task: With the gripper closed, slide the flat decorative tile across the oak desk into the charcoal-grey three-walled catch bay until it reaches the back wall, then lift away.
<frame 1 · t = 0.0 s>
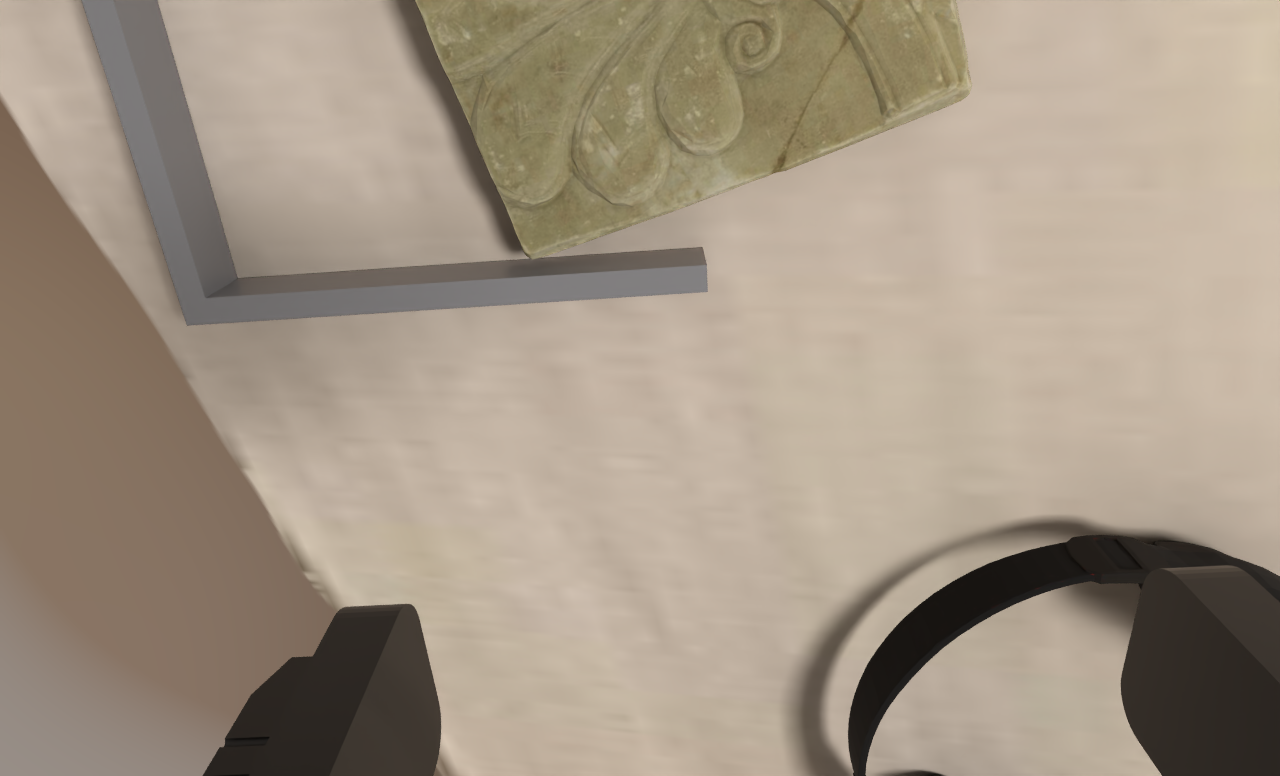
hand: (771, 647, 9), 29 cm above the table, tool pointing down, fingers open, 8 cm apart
headset: (1065, 704, 49), on the table
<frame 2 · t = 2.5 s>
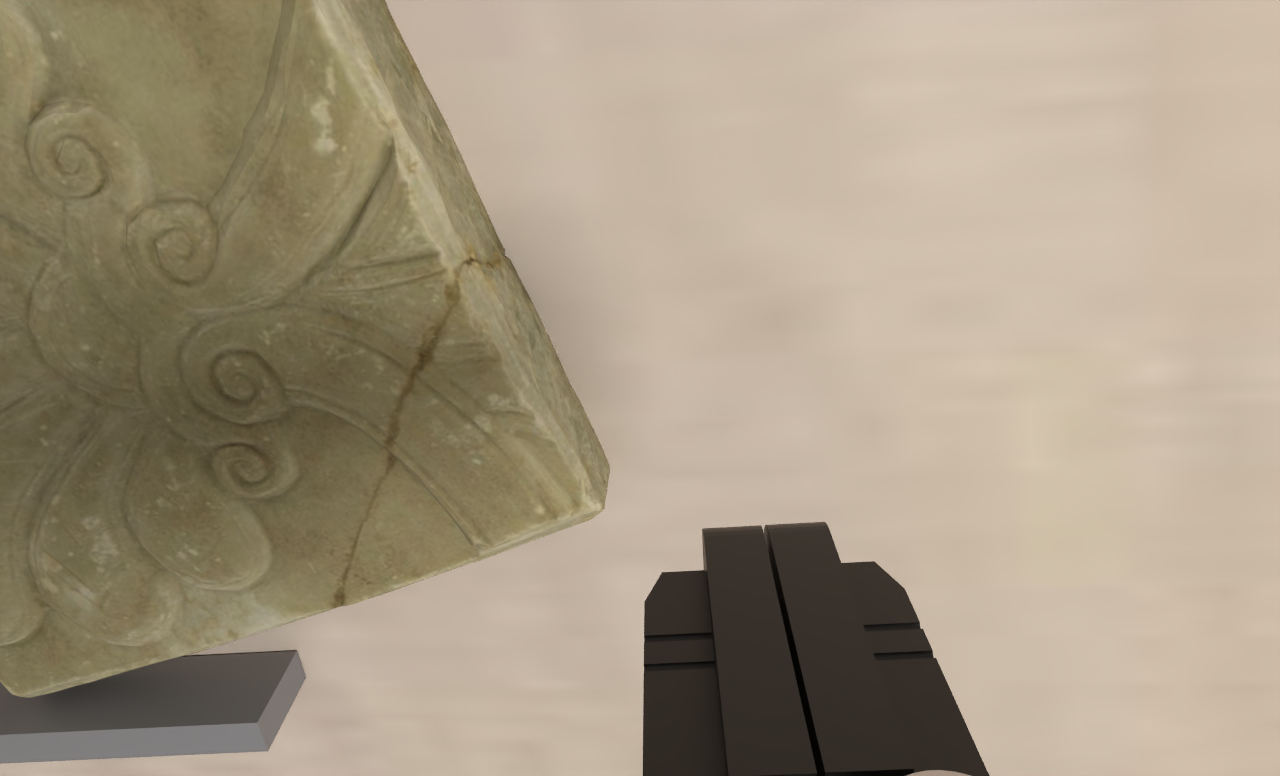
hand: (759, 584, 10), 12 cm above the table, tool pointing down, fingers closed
decorative tile: (163, 306, 22), on the table
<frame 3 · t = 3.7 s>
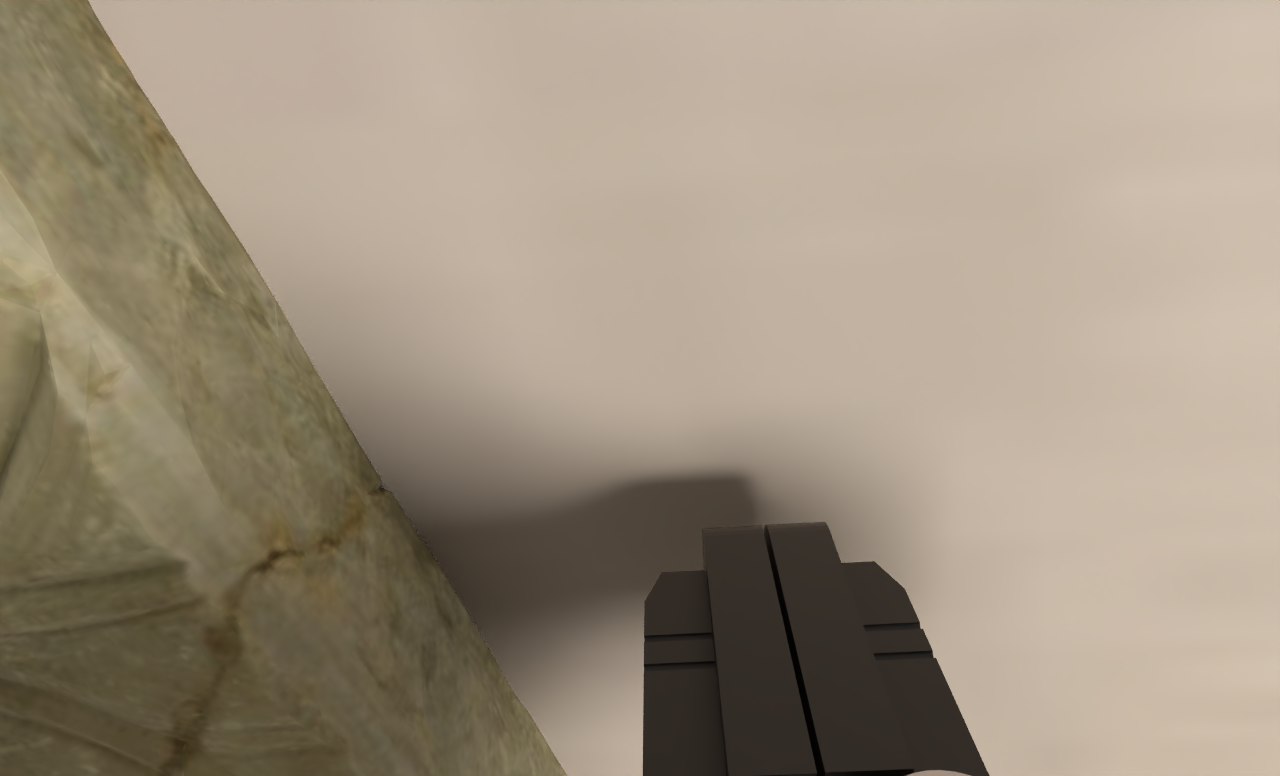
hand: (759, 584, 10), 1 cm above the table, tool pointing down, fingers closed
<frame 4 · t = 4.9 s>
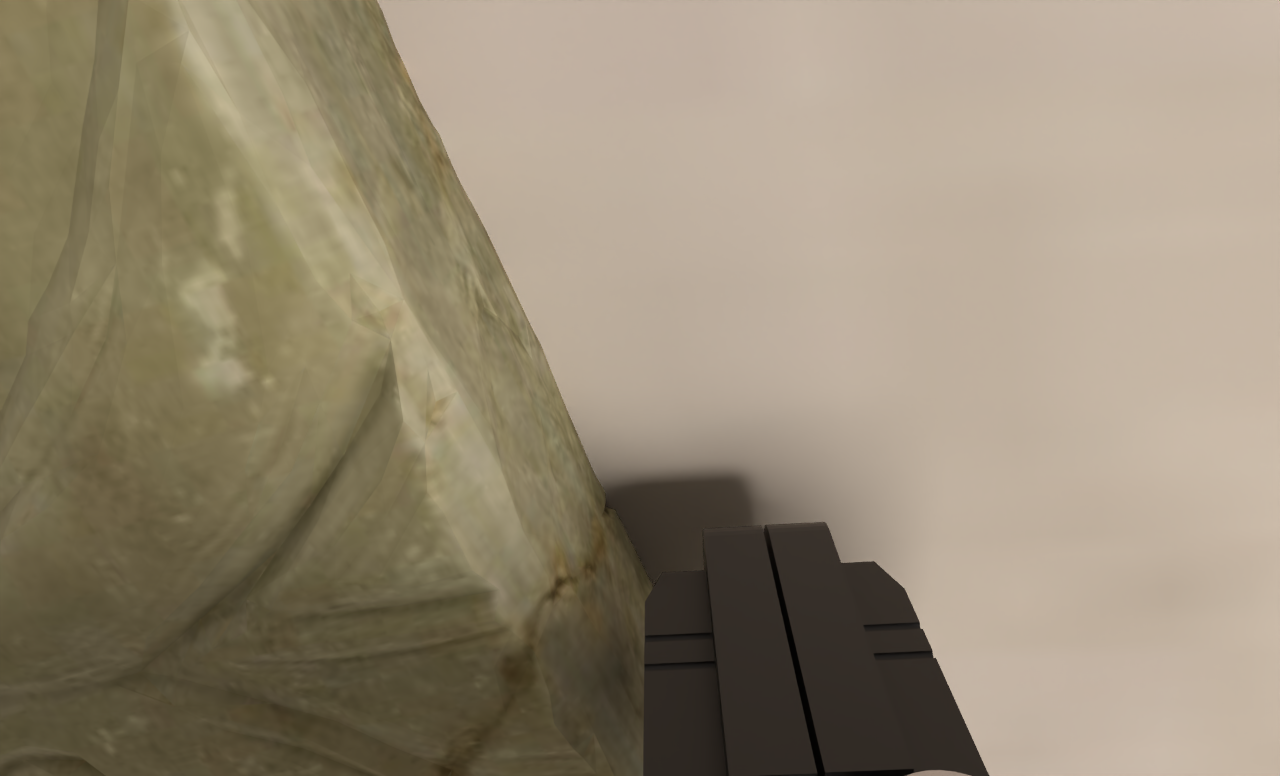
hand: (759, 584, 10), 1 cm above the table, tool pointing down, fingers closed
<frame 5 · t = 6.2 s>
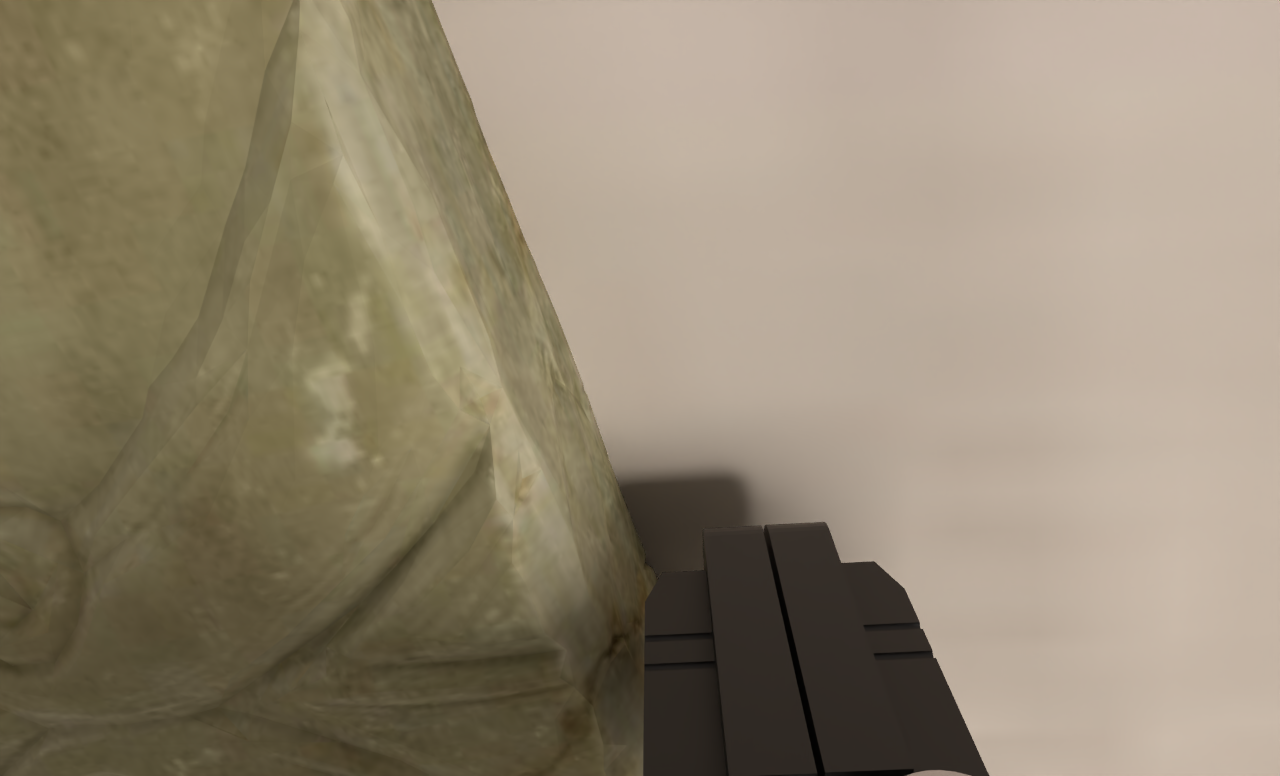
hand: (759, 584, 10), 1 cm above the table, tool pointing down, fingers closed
decorative tile: (15, 580, 13), on the table, touching gripper
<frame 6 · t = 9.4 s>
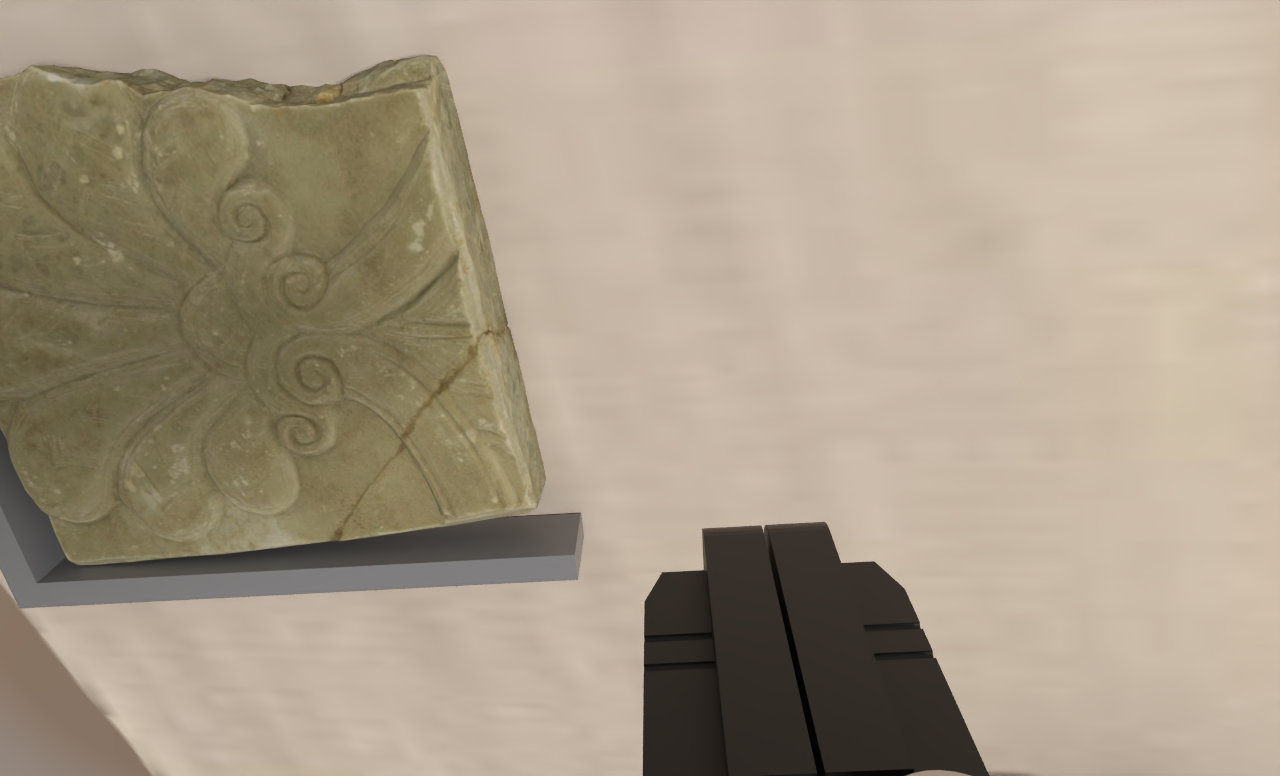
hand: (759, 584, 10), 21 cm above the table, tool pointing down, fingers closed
decorative tile: (257, 306, 31), on the table
catch bay: (255, 257, 30), on the table
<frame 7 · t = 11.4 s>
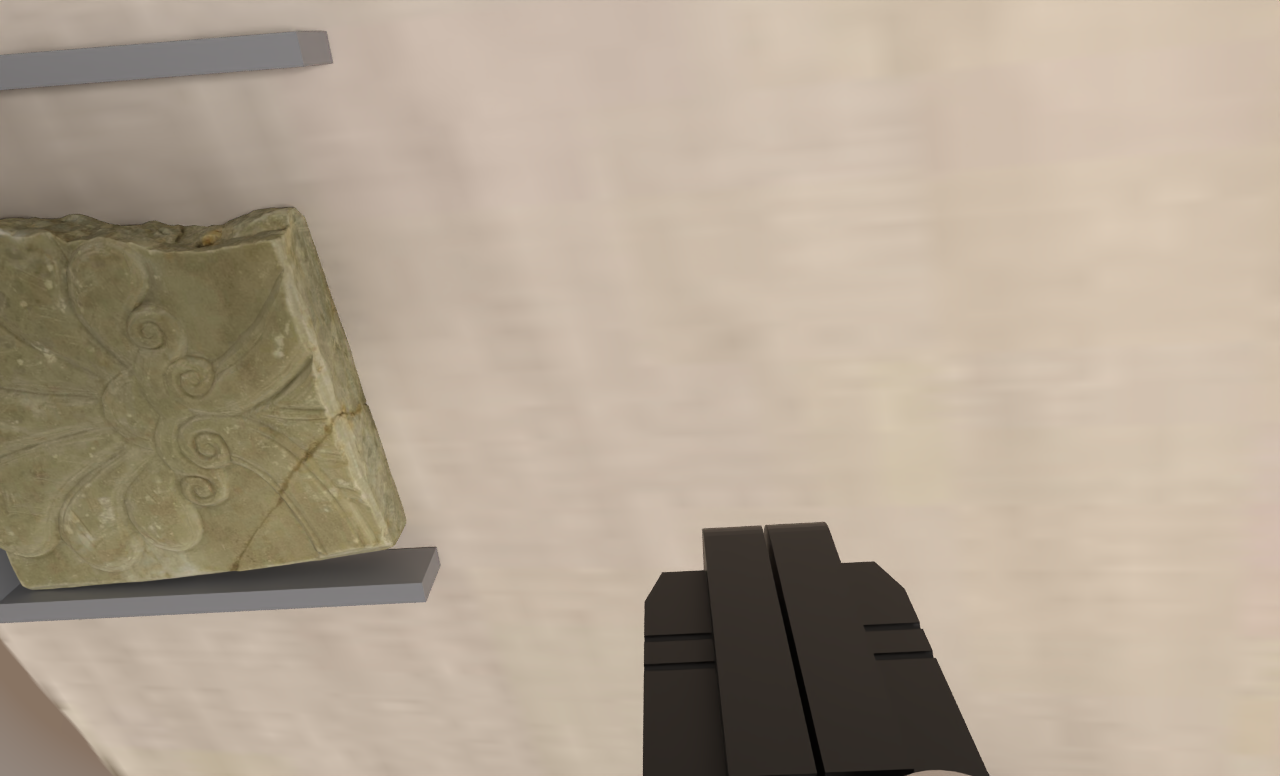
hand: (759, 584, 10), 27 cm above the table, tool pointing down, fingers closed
decorative tile: (169, 386, 40), on the table
catch bay: (164, 351, 38), on the table
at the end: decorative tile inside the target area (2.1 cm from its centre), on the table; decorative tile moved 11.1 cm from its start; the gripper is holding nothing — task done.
